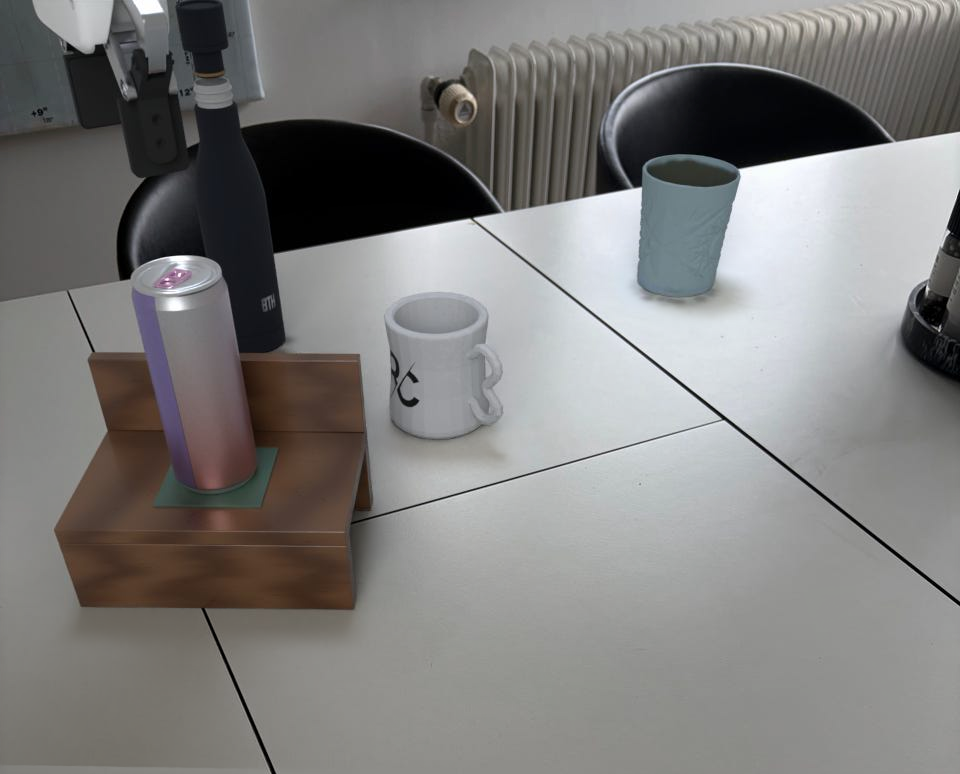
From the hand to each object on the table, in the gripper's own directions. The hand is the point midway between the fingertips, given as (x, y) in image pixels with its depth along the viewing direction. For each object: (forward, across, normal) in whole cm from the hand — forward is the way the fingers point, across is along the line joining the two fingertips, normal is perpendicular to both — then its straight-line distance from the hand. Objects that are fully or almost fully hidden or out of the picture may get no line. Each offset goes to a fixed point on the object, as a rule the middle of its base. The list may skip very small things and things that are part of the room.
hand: (132, 147), depth 61 cm
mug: (+29, -5, +25) cm, 39 cm away
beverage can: (+22, +2, +1) cm, 22 cm away
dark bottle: (+30, -30, +16) cm, 46 cm away
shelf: (+29, +2, +1) cm, 29 cm away
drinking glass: (+29, -18, +62) cm, 71 cm away
